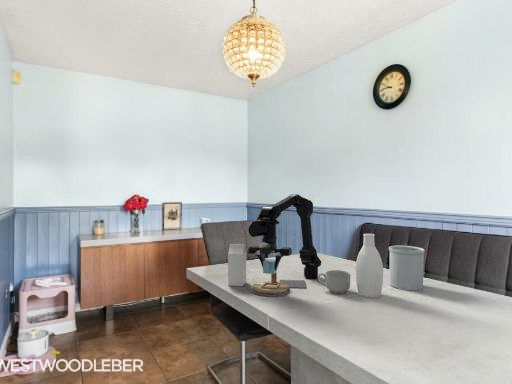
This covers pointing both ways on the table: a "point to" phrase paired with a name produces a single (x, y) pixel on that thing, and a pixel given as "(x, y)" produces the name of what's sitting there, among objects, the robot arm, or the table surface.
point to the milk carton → (236, 265)
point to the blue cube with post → (269, 266)
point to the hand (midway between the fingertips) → (269, 270)
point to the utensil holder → (406, 267)
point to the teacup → (336, 281)
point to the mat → (294, 283)
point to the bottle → (369, 269)
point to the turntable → (270, 286)
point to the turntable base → (270, 294)
